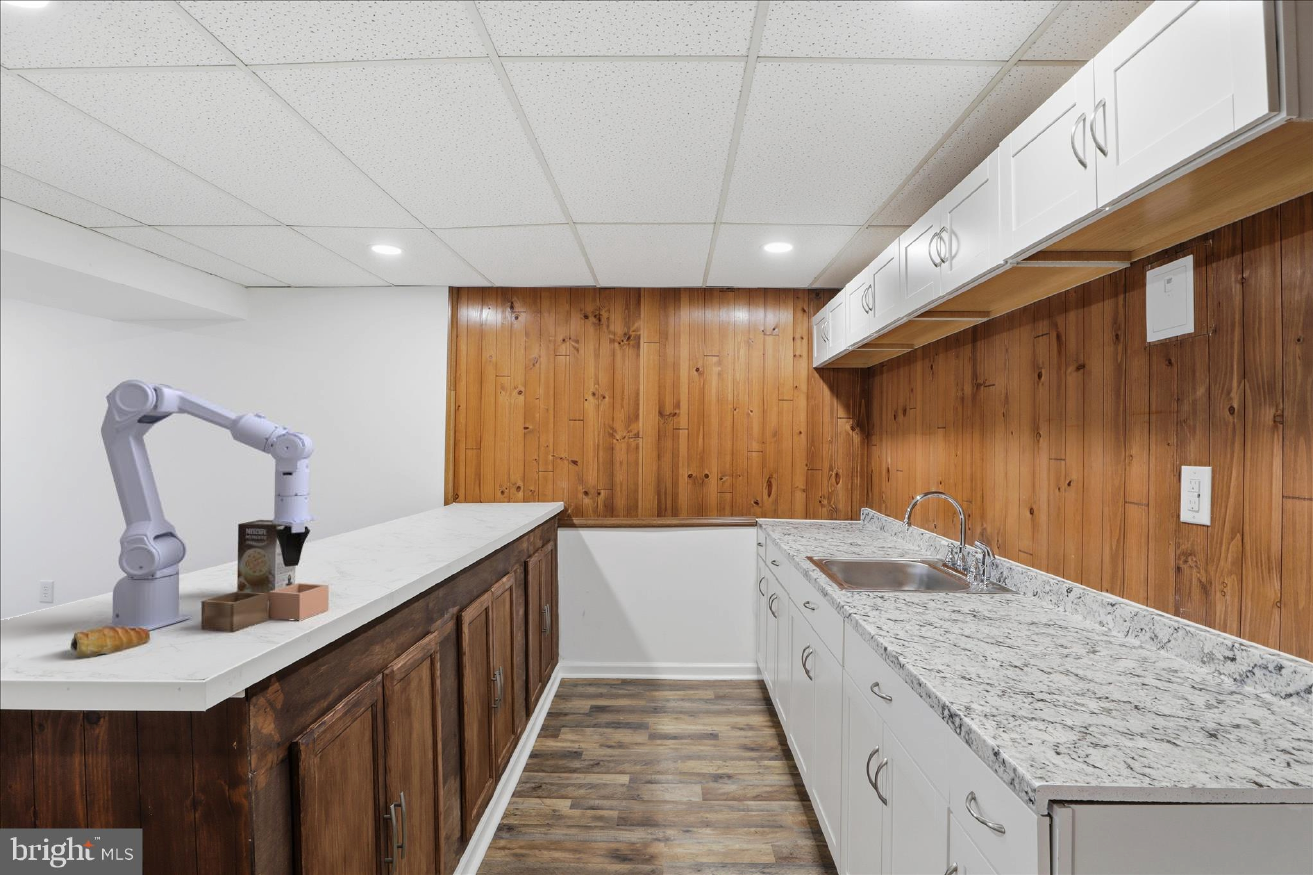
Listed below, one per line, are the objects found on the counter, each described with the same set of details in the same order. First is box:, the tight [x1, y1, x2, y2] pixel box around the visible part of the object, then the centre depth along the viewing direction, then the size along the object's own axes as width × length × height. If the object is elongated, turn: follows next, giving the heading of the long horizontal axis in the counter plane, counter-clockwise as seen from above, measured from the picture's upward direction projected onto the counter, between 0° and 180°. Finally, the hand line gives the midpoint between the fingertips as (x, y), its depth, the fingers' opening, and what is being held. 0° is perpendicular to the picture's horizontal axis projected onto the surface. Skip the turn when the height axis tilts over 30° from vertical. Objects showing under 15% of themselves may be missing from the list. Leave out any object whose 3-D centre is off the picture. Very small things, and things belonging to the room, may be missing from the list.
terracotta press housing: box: [268, 582, 330, 621], centre depth 113 cm, size 7×7×5 cm
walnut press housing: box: [200, 590, 269, 633], centre depth 107 cm, size 7×7×5 cm
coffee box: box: [236, 519, 297, 600], centre depth 126 cm, size 9×6×16 cm
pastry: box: [69, 625, 151, 659], centre depth 95 cm, size 9×7×4 cm
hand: (291, 565), depth 113 cm, fingers closed
